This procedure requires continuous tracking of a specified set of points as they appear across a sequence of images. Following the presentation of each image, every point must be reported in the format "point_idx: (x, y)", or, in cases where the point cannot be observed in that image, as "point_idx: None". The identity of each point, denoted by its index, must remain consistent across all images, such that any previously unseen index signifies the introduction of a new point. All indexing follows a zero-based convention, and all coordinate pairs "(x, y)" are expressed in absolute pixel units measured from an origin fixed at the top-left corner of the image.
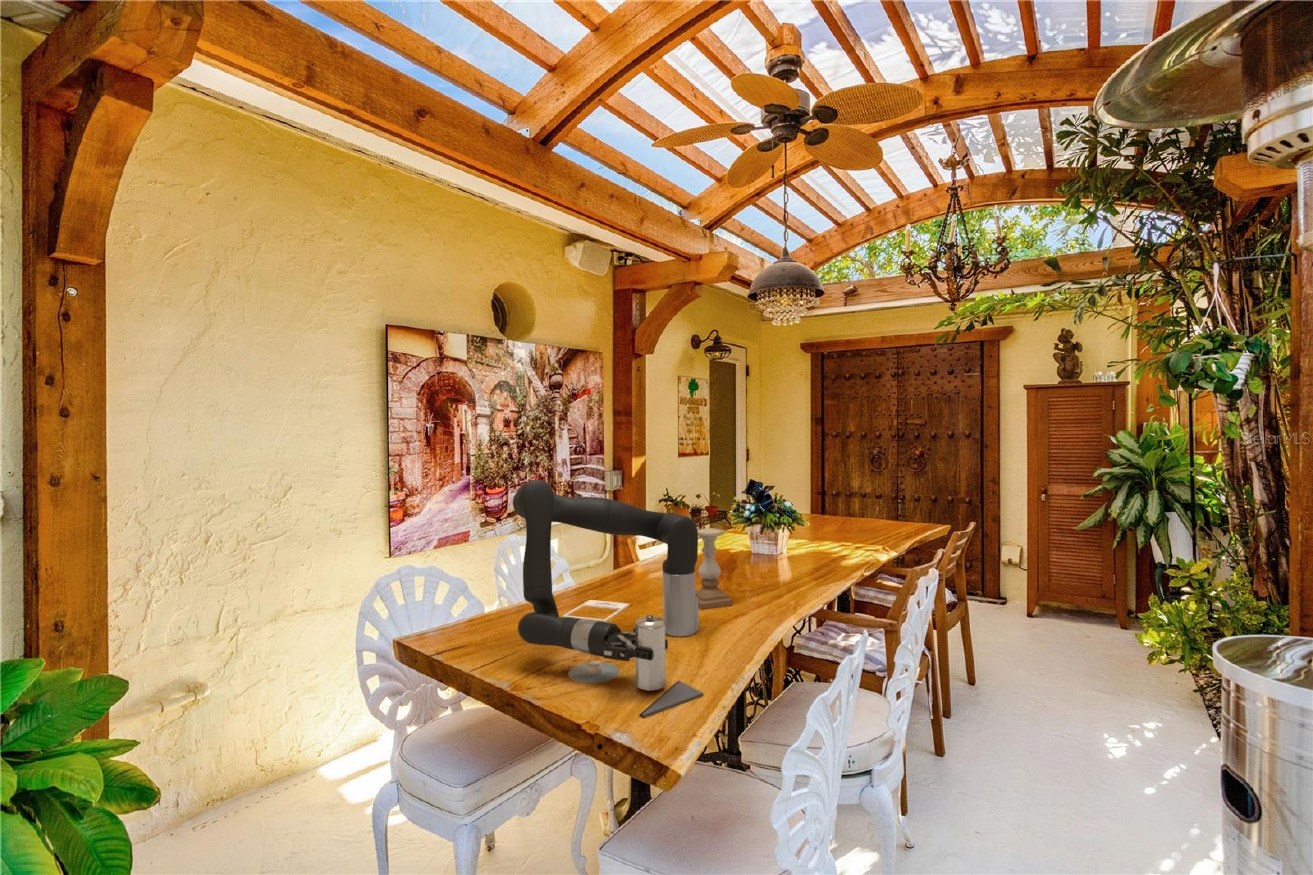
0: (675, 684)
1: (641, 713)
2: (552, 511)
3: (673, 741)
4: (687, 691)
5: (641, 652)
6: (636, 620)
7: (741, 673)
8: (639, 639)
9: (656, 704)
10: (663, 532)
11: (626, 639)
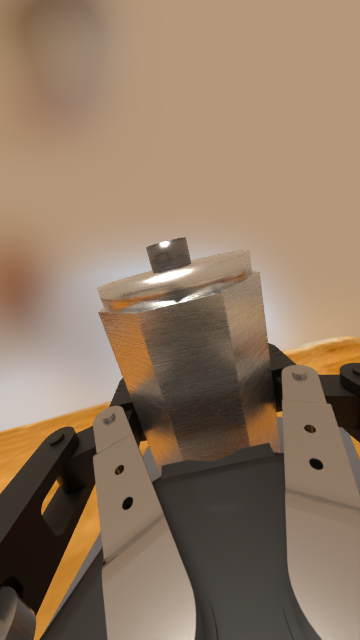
0: (156, 472)
1: (346, 433)
2: None
3: (326, 359)
4: None
5: (285, 357)
6: (212, 262)
7: (65, 415)
8: (264, 332)
9: (279, 436)
10: None
11: (293, 442)
